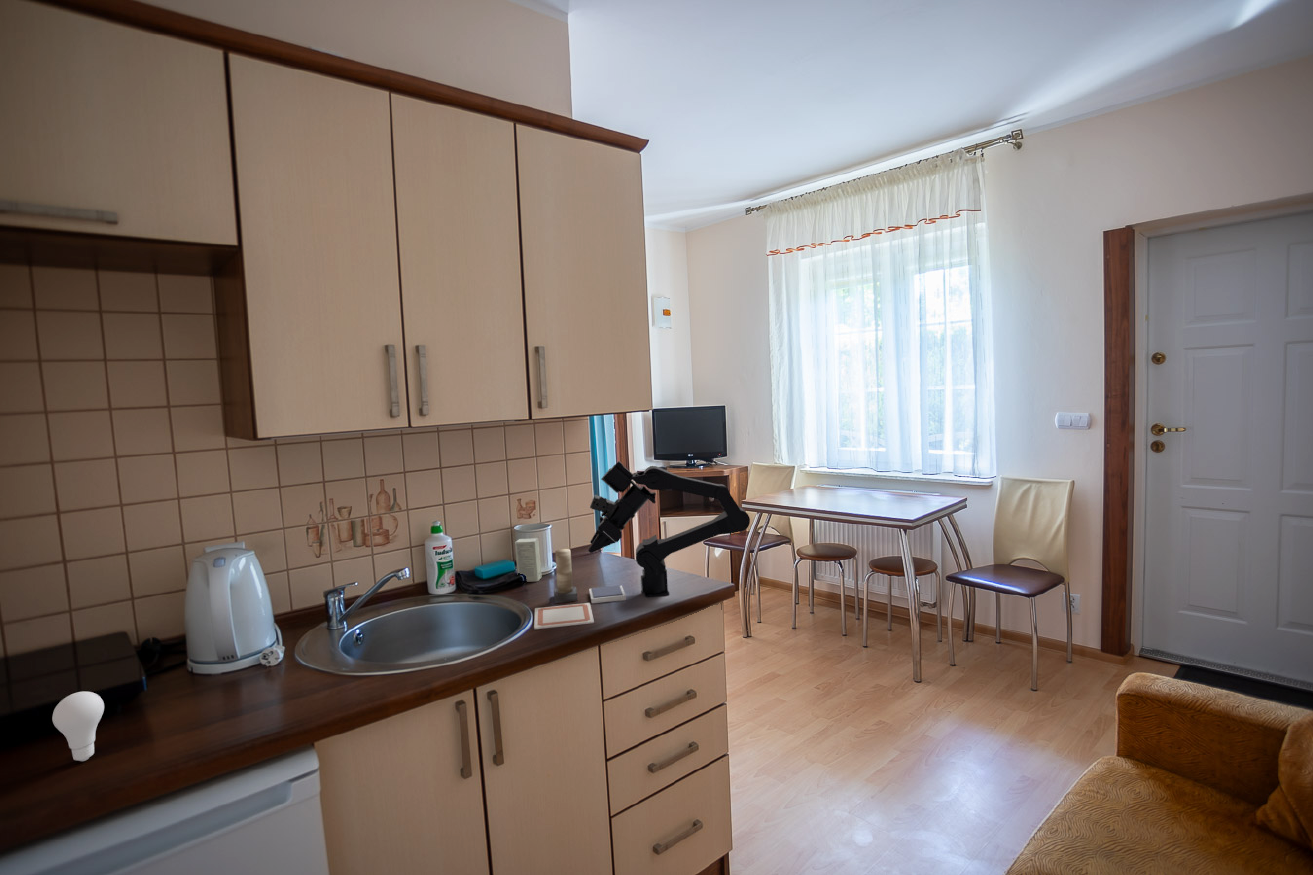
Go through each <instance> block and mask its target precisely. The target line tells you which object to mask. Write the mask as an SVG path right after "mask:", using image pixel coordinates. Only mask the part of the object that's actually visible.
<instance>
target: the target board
mask: <svg viewBox="0 0 1313 875" xmlns="http://www.w3.org/2000/svg"><path fill="white" fill-rule="evenodd" d="M591 606H592V605H591V602H585V603H575V604H565V605H554V606H545V607H535V608H534V622H533V624H534V625H533V630H540V629H541V630H542V629H552V628H560V627H568V626H569V627H570V626H580V625H587V624H594V623H595V621H594V620H595V619H594V616H593V611H592V607H591Z"/></svg>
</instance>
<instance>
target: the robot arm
mask: <svg viewBox="0 0 1313 875" xmlns="http://www.w3.org/2000/svg"><path fill="white" fill-rule="evenodd" d="M601 481H602V482H604V483H605V484H606V485H607V487H609V488H610V489H611V490H613V492H615V493H616V494H617V493H624V492H625V493H624V494H623V495H622V496H621V497H620V498H617V499H616V500H615V501H612V500H610V499H608V498H607V497H603V496H601V495H597V494H594V496H593V498H592V501H591V503H590V506H589V508H590V509H592V510H593V511H595V510H596V511H597V512H598V511H599V512H601V514H600V516H599V524H598V525H597V526H598V527H597V529H596V531H595V533H594V534H593V537H592V538H591V540H590V541H589V543H590V544H591V545H590V547H589V548H588V551H587V552H589V553H590V554H592V553H595V552H597V551H599V550H602V549H604V548H605V547H608V546H610V545H613V544H616V543H618V542H619V541H620V540H621V539H622V538H623V530H624V529H625V527H626V525H627V524H628V522H630V521H631V520H632V519H633V518H635V517H636V514H637V513H638V512H639V511H640V510H641V508H642V507H643V506H644V505H645V504H646V502H648V501H650V502H651V503H652V504H656V503H657V502H656V495H657V494H656V491H679V492H684V493H686V494H687V493H689V494H692V495H697V496H701V497H706V498H711V499H715V500H717V501H718V503H719V505H720V506H721V508H722V509H723V510H724V511H722V512H721V513H719V515H717V516H716V517H714V518H713V519H712V520H709V521H706V522H704V523H702V524H699V525H697V526H693V527H692V528H689V529H686V530H683V531H681V532H678V533H677V534H674V535H672V536H669V537H667V538H657V537H658V536H657V534H655V535H652V536H651V537H649V538H646V539H645V538H643V539H642V540H641V541H642V542H641V543H639V544H638V545H637V547H636V548H635V561H636V562H637V565H638V566H640V568H643V569H641V570H642V572H641V573H642V574H641V575H640V589H641V593H642V594H644V597H647V598H649V597H656V596H657V597H658V596H666V595H670V591H669V587H668V571H667V569H666V567H667V566H666V560H665V559H666V558H667V557H669V556H670V555H671V554H673V553H676V552H679V551H681V550H684V549H686V548H687V549H688V548H689V547H691V546H694V545H697V544H699V543H701V542H704V541H706V540H709V539H711V538H713V537H717V536H720V535H732V534H735V533H741V532H743V531H746V530H747V529H748V528H749V526H750V523H751V518H750V516H749V513H748V512H746V510H744V508H742V507H740V506H739V505H738V503H737V502H736V501H735V499H734V497H733V496H732V494H730V491H729V488H728V487H727V486H726V485H724V484H721V483H713V482H709V481H705V480H701V479H700V480H699V479H695V478H691V477H686V476H681V475H678V474H675V473H673V472H671V471H669V470H668V469H664V468H661V467H660V466H656V465H650V466H649V467H647V468H645V469H644V470H643V471H638V472H637V471H636V472H632V471H630V470H629V469H628V468H627V467H625V465H624V464H623V462H621V461H620V460H619V461H617V462H616V463H615V464H614V465H613V466H612V467H611V468H609V469H608V470H607V471H606V472H605V474H603V476H602V477H601ZM639 485H640V486H641V485H642V486H641V487H640V486H639ZM646 487H647V488H646ZM649 489H650V490H652V491H650V490H649ZM626 490H627V491H626Z"/></svg>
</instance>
